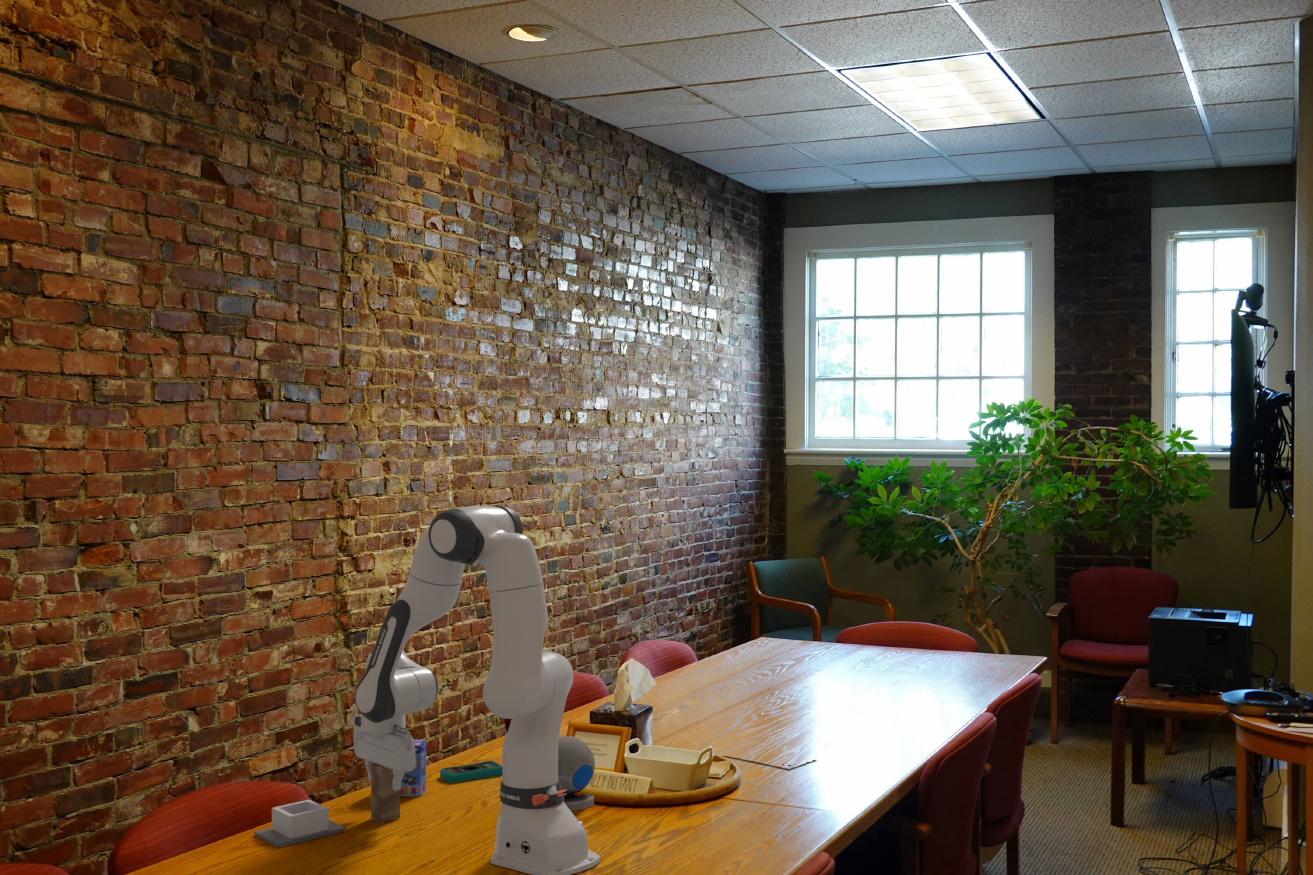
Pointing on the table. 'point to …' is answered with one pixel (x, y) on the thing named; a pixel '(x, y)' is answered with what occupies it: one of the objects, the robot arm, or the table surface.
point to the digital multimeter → (471, 772)
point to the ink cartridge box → (416, 773)
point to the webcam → (575, 771)
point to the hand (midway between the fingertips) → (384, 784)
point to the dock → (298, 824)
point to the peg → (383, 795)
